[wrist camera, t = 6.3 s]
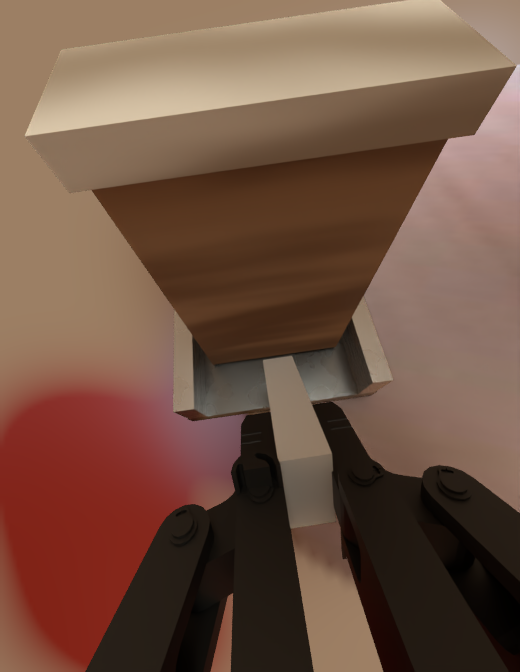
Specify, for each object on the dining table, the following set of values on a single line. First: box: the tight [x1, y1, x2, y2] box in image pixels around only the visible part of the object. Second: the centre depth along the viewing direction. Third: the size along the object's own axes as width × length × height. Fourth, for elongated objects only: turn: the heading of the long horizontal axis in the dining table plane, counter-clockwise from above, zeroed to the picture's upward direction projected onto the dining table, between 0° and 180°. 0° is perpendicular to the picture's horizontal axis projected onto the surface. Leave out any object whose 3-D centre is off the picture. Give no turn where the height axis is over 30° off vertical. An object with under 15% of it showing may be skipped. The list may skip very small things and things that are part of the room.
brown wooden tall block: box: [25, 0, 516, 365], centre depth 13 cm, size 4×10×15 cm, turn 98°
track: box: [173, 296, 393, 421], centre depth 20 cm, size 19×13×7 cm
